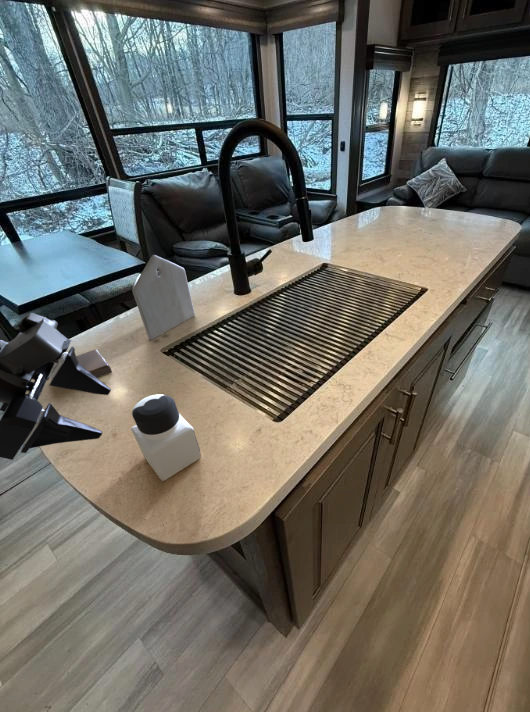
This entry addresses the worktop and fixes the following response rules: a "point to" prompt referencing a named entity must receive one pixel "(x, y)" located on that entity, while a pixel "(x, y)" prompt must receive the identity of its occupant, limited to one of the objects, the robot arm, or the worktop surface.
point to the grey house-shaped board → (162, 296)
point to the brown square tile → (94, 363)
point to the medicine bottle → (164, 435)
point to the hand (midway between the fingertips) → (105, 412)
